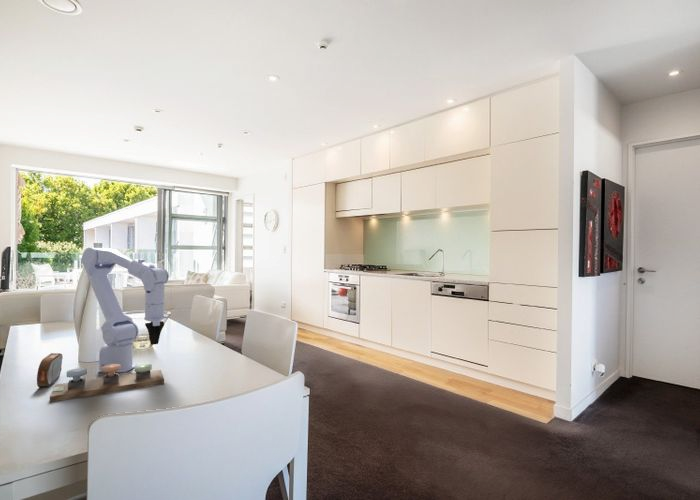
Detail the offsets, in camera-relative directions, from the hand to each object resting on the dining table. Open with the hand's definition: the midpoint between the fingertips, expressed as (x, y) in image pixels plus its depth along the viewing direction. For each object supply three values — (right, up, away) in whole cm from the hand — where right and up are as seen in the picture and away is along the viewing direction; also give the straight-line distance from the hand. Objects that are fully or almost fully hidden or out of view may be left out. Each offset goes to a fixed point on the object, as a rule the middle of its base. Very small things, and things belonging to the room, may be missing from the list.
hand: (154, 344), depth 127 cm
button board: (-6, -10, -13) cm, 17 cm away
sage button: (+1, -8, -8) cm, 12 cm away
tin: (-28, -10, -9) cm, 31 cm away
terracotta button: (-6, -7, -13) cm, 16 cm away
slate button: (-14, -6, -17) cm, 23 cm away
